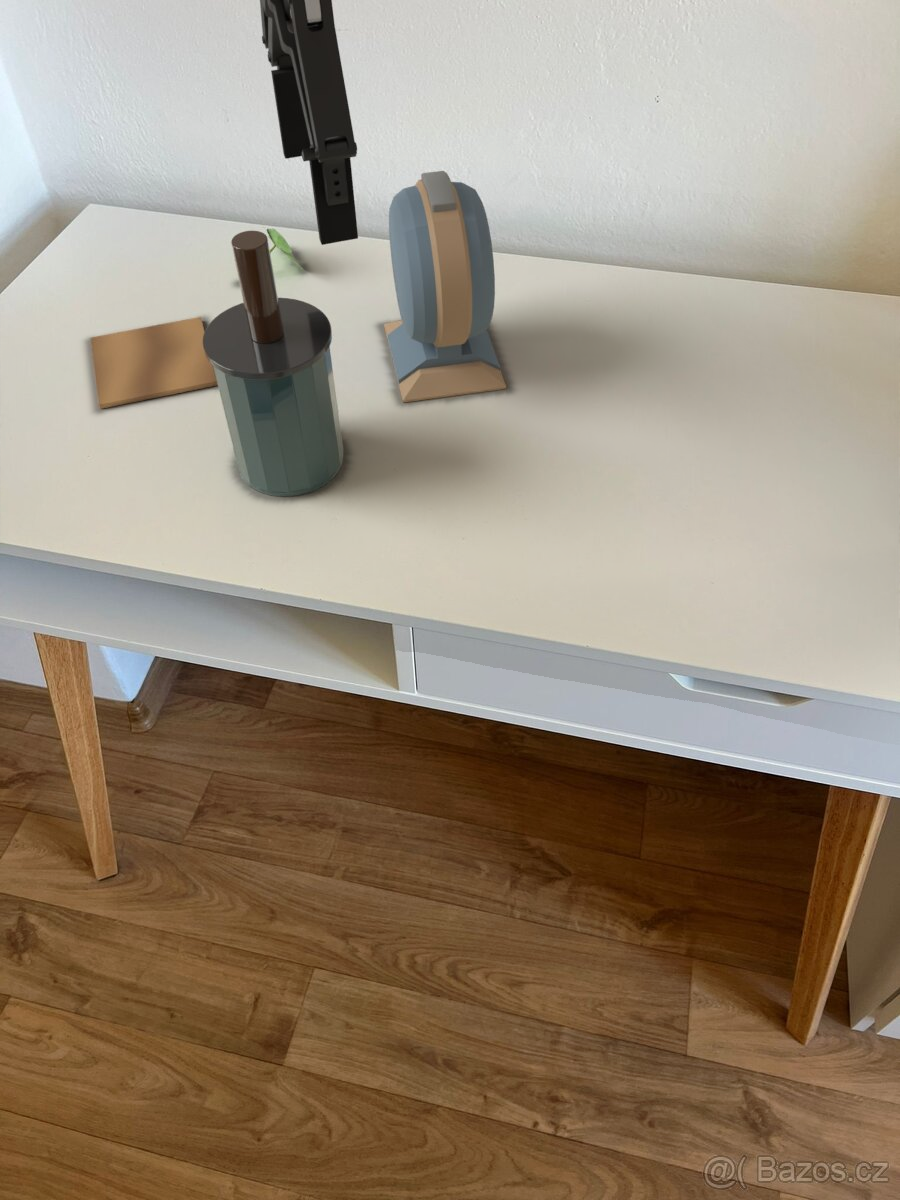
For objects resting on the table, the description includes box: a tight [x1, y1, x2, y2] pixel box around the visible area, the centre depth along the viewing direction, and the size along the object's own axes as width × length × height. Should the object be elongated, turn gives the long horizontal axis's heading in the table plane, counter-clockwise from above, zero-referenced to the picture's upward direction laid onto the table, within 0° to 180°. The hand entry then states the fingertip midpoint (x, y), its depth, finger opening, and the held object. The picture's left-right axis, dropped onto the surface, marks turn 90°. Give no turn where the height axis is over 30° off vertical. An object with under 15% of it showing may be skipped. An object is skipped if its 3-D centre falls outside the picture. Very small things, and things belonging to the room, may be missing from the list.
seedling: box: [238, 219, 304, 285], centre depth 106 cm, size 7×8×7 cm
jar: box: [213, 346, 344, 497], centre depth 83 cm, size 9×9×12 cm
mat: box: [90, 316, 218, 410], centre depth 97 cm, size 11×11×1 cm
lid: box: [203, 230, 333, 380], centre depth 76 cm, size 10×10×9 cm
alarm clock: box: [383, 170, 507, 403], centre depth 91 cm, size 14×10×18 cm
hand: (318, 194), depth 77 cm, fingers open, 13 cm apart
